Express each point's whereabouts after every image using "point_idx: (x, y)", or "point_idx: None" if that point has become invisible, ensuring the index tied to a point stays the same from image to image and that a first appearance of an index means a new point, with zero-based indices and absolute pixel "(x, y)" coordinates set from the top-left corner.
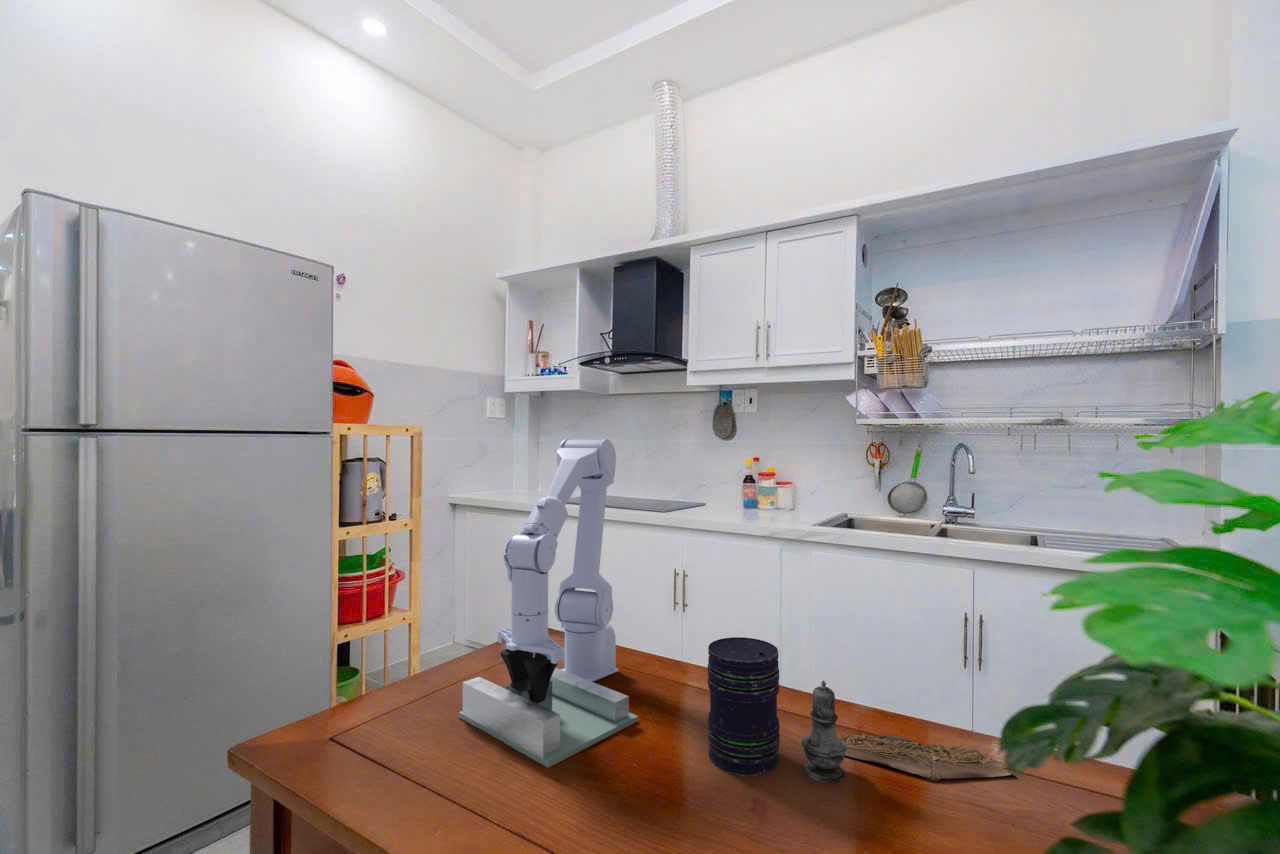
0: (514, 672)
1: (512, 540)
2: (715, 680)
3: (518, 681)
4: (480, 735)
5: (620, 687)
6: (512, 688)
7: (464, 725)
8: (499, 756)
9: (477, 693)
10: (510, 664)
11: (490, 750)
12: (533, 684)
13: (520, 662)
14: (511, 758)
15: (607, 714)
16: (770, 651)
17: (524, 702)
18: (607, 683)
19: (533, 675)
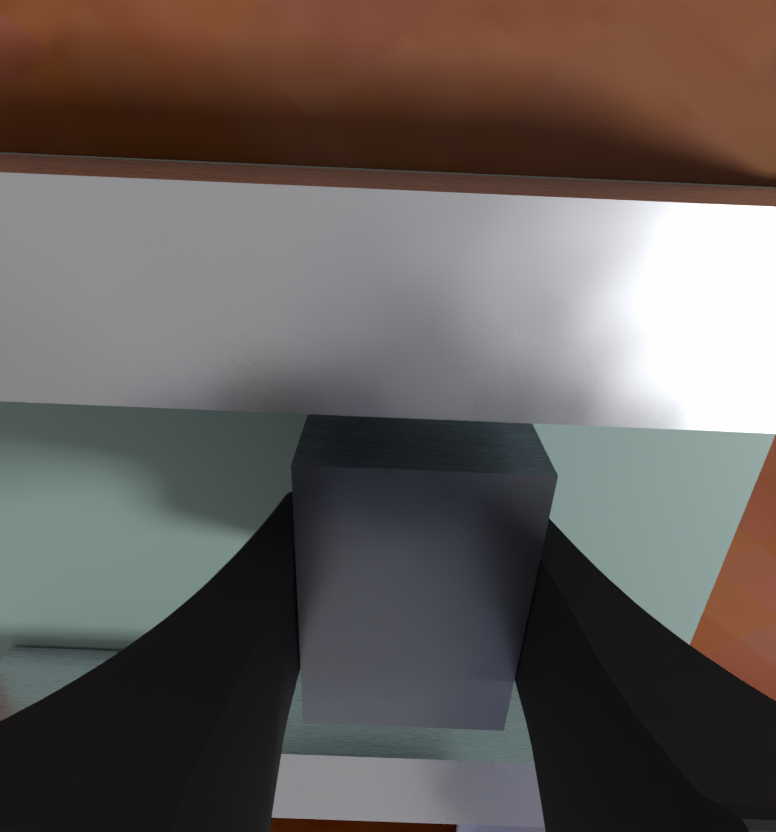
0: (571, 636)
1: None
2: None
3: (518, 586)
4: (500, 122)
5: (335, 828)
6: (444, 471)
7: (718, 139)
8: (142, 11)
9: (745, 202)
10: (625, 695)
11: (263, 22)
12: (214, 587)
13: (583, 779)
14: (64, 56)
15: (55, 667)
16: None
17: (43, 336)
18: (405, 827)
19: (125, 661)
